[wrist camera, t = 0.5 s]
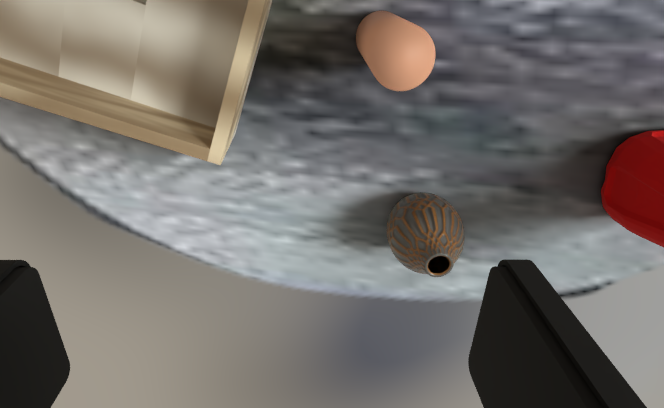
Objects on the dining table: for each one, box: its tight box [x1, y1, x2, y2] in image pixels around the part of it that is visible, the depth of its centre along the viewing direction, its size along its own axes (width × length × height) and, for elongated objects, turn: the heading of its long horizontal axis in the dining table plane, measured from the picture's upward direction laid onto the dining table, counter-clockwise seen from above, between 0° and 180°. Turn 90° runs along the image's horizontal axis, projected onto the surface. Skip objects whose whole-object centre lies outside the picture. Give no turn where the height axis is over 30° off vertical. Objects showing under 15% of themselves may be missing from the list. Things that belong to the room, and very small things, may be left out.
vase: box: [387, 193, 464, 277], centre depth 40 cm, size 7×7×9 cm
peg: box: [356, 11, 435, 91], centre depth 31 cm, size 4×4×10 cm
